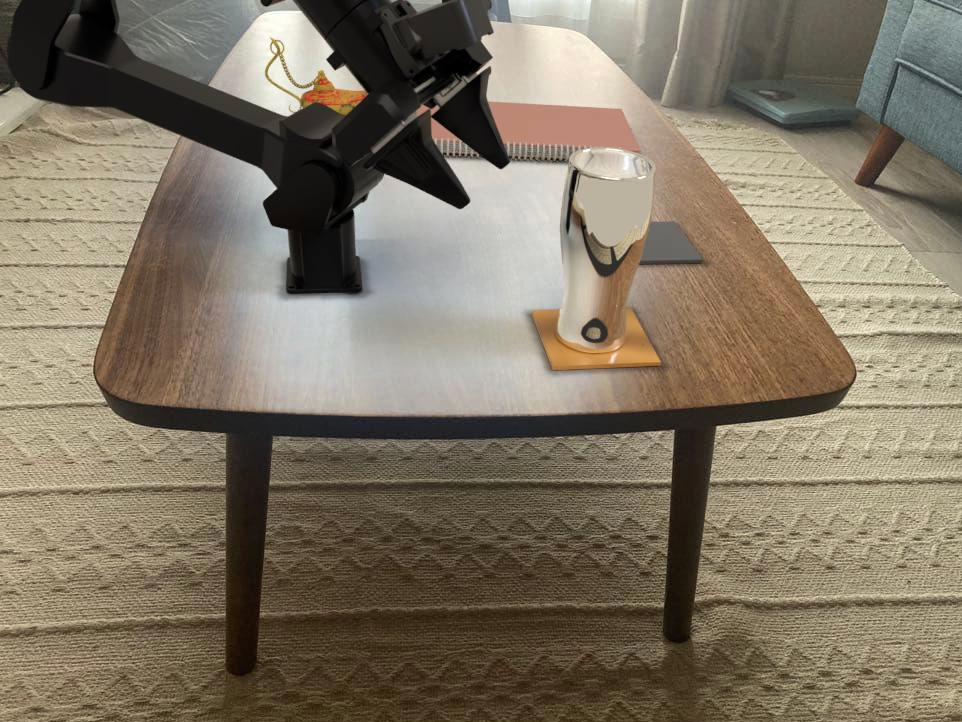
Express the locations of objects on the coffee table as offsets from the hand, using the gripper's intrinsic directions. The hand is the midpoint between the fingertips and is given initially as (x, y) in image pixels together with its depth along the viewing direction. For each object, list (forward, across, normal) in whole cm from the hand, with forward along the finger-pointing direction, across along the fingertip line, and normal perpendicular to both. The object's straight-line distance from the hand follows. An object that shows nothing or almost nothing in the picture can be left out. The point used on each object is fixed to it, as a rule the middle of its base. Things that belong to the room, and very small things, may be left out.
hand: (486, 184), depth 74 cm
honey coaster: (+15, 0, +1) cm, 15 cm away
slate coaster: (+16, +21, +1) cm, 26 cm away
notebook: (+1, +44, +16) cm, 47 cm away
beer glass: (+15, 0, +1) cm, 15 cm away
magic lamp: (-13, +35, +30) cm, 48 cm away
